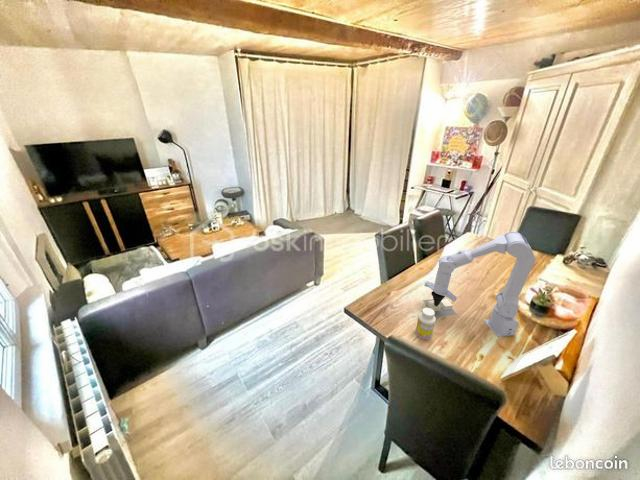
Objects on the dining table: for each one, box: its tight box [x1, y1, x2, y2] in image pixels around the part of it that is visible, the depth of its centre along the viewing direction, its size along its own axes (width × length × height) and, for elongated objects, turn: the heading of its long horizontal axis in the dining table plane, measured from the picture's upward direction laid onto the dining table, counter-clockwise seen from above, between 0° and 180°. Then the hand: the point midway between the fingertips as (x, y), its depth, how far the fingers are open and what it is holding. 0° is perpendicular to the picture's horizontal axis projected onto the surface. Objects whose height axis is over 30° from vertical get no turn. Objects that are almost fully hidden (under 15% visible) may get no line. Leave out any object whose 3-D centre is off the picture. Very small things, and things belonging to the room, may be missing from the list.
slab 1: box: [426, 299, 441, 311], centre depth 119 cm, size 2×4×5 cm
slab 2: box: [439, 298, 454, 310], centre depth 120 cm, size 2×4×5 cm
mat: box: [422, 298, 458, 318], centre depth 120 cm, size 12×11×1 cm
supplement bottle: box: [415, 307, 437, 340], centre depth 103 cm, size 7×7×13 cm
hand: (436, 304), depth 117 cm, fingers closed
